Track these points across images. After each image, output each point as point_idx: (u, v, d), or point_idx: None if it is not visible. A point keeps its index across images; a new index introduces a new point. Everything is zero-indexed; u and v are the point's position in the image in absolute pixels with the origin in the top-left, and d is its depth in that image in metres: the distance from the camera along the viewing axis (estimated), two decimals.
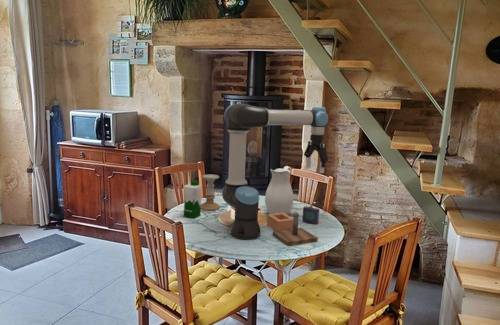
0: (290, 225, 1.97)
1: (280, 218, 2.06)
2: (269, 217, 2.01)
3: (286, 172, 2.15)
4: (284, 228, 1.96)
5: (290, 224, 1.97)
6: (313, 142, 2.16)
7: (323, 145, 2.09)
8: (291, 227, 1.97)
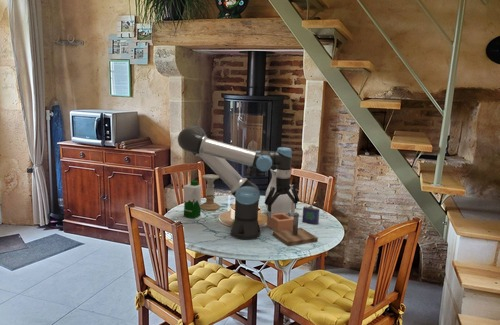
0: (290, 225, 1.97)
1: (280, 218, 2.06)
2: (269, 217, 2.01)
3: None
4: (284, 228, 1.96)
5: (290, 224, 1.97)
6: None
7: (271, 188, 1.95)
8: (291, 227, 1.97)
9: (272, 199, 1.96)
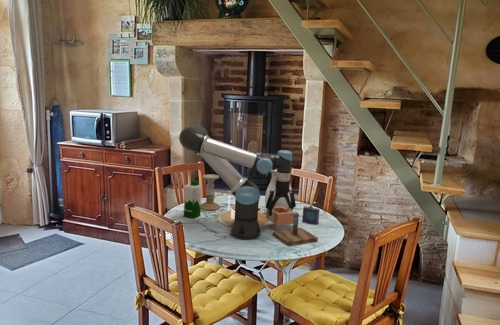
0: (290, 218, 1.96)
1: (280, 211, 2.05)
2: None
3: None
4: (283, 221, 1.95)
5: (290, 217, 1.96)
6: None
7: (270, 192, 1.95)
8: (290, 220, 1.97)
9: (272, 203, 1.97)
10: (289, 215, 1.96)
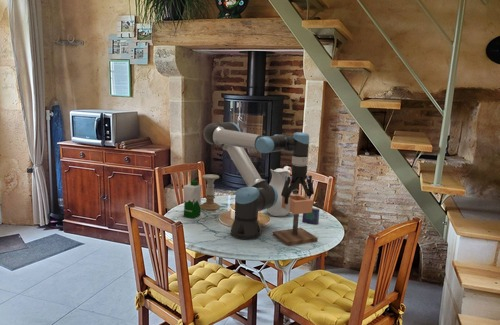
0: (308, 207, 1.80)
1: (296, 200, 1.88)
2: None
3: (286, 172, 2.15)
4: (301, 210, 1.78)
5: (308, 206, 1.80)
6: None
7: (286, 178, 1.79)
8: (309, 209, 1.80)
9: (289, 190, 1.80)
10: (307, 203, 1.79)
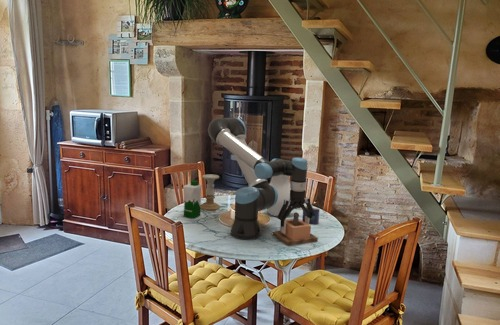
0: (306, 232, 1.82)
1: None
2: None
3: None
4: (299, 235, 1.81)
5: (306, 231, 1.82)
6: None
7: (284, 201, 1.81)
8: (307, 234, 1.83)
9: (285, 213, 1.82)
10: (305, 228, 1.81)
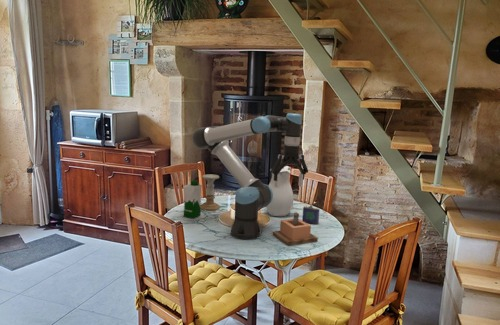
0: (306, 232, 1.82)
1: None
2: (283, 223, 1.86)
3: (286, 172, 2.15)
4: (299, 235, 1.81)
5: (306, 231, 1.82)
6: None
7: (278, 156, 1.84)
8: (307, 234, 1.83)
9: (279, 168, 1.85)
10: (305, 228, 1.81)
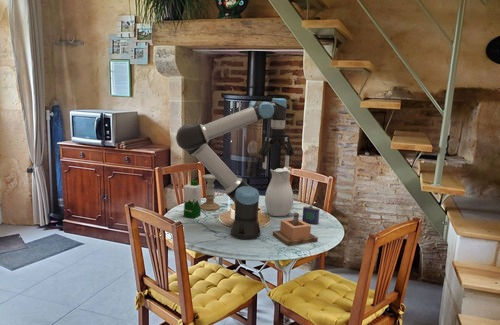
0: (306, 232, 1.82)
1: None
2: (283, 223, 1.86)
3: (286, 172, 2.15)
4: (299, 235, 1.81)
5: (306, 231, 1.82)
6: None
7: (265, 138, 1.94)
8: (307, 234, 1.83)
9: (266, 150, 1.95)
10: (305, 228, 1.81)
